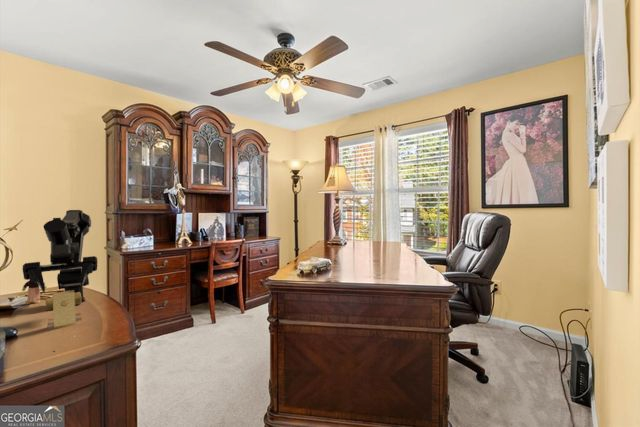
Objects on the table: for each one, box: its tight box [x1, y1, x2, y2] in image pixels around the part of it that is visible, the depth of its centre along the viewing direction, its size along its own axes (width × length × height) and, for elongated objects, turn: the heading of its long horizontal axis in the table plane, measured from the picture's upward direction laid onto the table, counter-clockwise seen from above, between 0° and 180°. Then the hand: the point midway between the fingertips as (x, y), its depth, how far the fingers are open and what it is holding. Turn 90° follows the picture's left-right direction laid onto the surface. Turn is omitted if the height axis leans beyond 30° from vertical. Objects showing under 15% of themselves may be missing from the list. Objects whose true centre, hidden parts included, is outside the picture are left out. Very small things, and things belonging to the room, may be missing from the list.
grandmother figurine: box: [21, 280, 47, 305], centre depth 118 cm, size 8×4×13 cm, turn 120°
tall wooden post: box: [52, 290, 76, 329], centre depth 91 cm, size 3×5×10 cm
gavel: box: [45, 292, 82, 311], centre depth 107 cm, size 21×5×10 cm
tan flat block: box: [47, 313, 83, 332], centre depth 94 cm, size 12×8×2 cm
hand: (63, 288), depth 95 cm, fingers open, 9 cm apart
